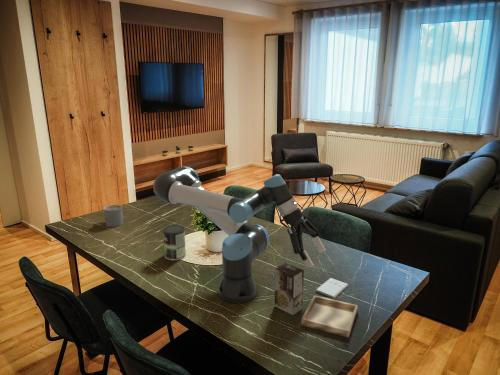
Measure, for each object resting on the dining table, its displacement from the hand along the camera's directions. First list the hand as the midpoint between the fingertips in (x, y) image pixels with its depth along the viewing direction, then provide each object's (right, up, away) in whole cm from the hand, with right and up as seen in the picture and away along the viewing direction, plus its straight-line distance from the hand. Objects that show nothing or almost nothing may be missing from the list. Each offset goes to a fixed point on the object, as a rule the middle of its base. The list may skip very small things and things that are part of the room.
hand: (316, 258), depth 152 cm
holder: (+3, -19, -11) cm, 23 cm away
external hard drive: (+8, -15, +8) cm, 18 cm away
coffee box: (-12, -18, -5) cm, 22 cm away
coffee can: (-62, -5, +37) cm, 73 cm away
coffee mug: (-107, +7, +77) cm, 132 cm away
